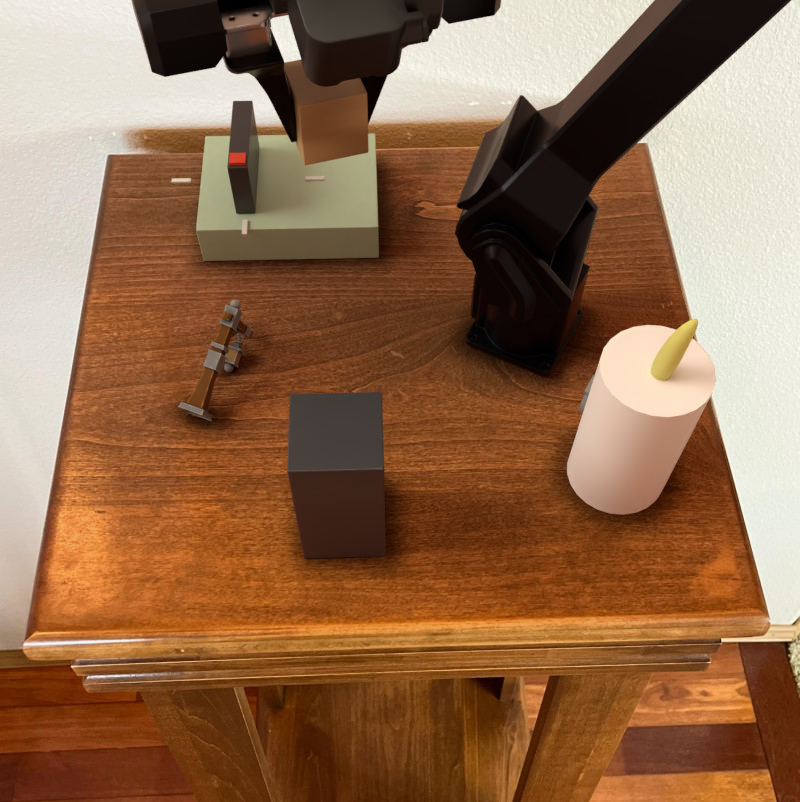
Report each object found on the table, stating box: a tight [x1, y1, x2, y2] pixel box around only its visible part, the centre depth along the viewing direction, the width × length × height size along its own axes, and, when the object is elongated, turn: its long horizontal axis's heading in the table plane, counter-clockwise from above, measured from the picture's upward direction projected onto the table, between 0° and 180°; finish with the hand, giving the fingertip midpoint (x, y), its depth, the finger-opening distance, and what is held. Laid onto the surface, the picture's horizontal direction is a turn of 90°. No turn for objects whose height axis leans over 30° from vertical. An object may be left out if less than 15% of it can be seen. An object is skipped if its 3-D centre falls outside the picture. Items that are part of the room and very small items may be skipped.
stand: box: [286, 391, 386, 559], centre depth 52 cm, size 5×5×10 cm
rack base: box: [170, 133, 380, 262], centre depth 68 cm, size 15×11×3 cm
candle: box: [566, 318, 717, 516], centre depth 52 cm, size 6×6×15 cm
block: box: [284, 59, 369, 165], centre depth 53 cm, size 4×4×4 cm
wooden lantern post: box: [177, 299, 254, 422], centre depth 60 cm, size 2×8×4 cm, turn 158°
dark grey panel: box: [227, 100, 260, 214], centre depth 65 cm, size 7×1×4 cm, turn 2°
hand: (327, 130), depth 54 cm, fingers closed on block, 4 cm apart
